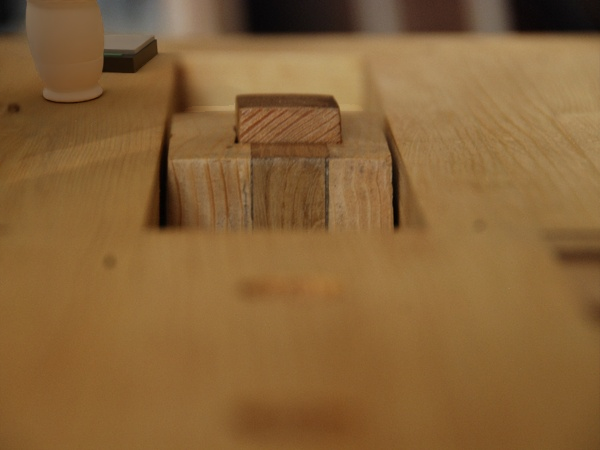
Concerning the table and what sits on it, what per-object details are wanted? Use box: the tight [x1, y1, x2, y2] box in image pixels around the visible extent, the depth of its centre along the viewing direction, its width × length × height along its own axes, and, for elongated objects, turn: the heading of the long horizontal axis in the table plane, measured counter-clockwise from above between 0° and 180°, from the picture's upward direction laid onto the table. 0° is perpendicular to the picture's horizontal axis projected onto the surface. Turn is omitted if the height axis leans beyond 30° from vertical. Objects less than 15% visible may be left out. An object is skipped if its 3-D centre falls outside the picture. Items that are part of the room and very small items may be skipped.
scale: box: [102, 33, 159, 74], centre depth 136 cm, size 10×14×3 cm
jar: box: [25, 0, 105, 103], centre depth 114 cm, size 11×10×15 cm
